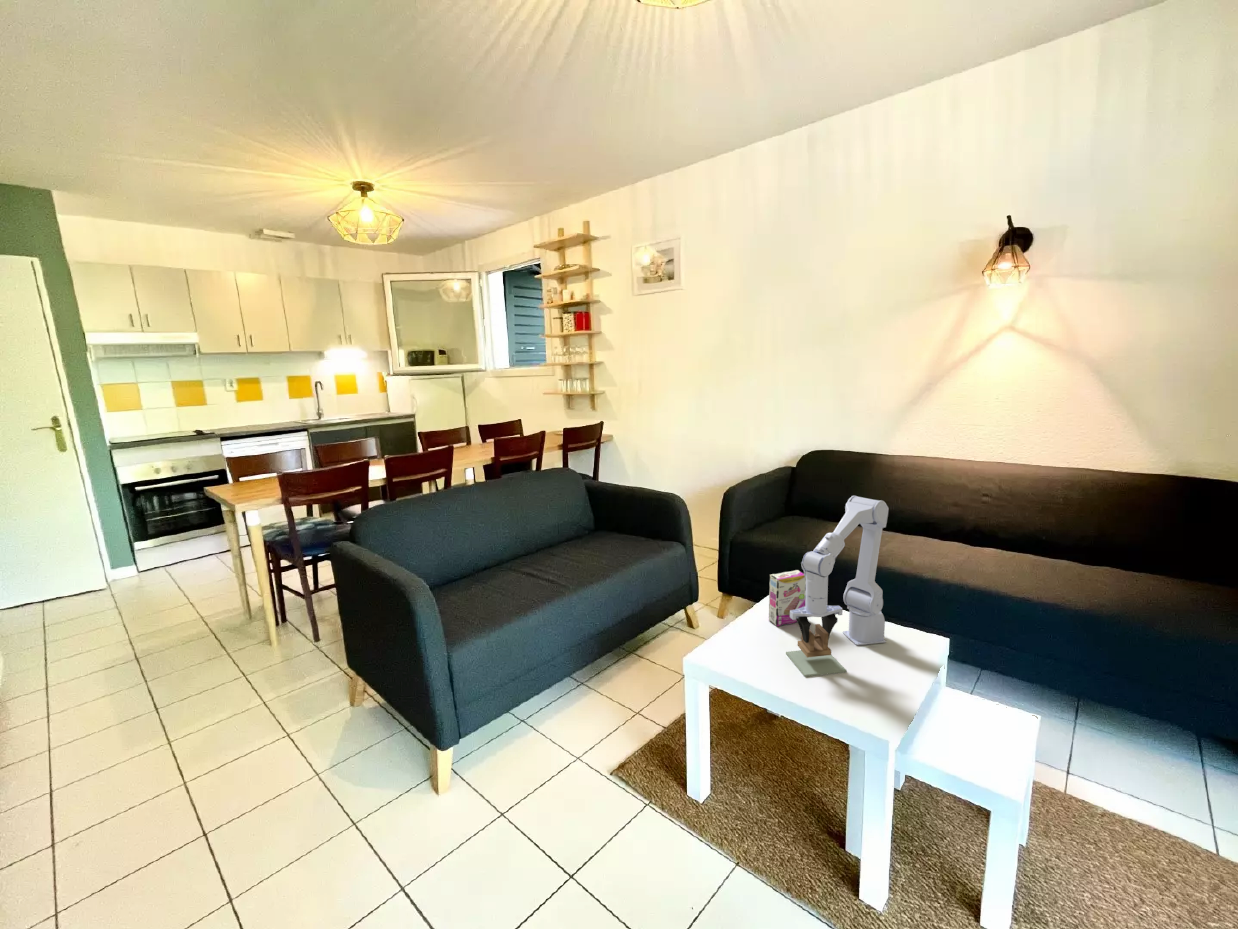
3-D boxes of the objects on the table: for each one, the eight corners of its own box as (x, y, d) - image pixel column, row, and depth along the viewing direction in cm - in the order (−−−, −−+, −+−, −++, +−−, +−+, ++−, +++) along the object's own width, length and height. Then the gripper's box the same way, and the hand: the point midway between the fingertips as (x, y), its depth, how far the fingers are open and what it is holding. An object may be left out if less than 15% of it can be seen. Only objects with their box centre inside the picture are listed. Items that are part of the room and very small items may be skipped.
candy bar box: (777, 627, 169) (777, 579, 167) (768, 621, 174) (768, 574, 171) (806, 621, 173) (807, 574, 170) (797, 614, 177) (797, 569, 174)
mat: (824, 649, 155) (824, 647, 155) (846, 672, 143) (846, 670, 143) (785, 653, 154) (785, 652, 154) (804, 677, 142) (804, 674, 142)
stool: (820, 643, 152) (821, 622, 150) (831, 655, 146) (832, 634, 145) (797, 645, 151) (798, 625, 150) (807, 657, 145) (808, 636, 144)
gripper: (833, 586, 150) (832, 630, 152) (785, 591, 148) (784, 635, 150) (847, 596, 143) (845, 642, 145) (796, 601, 141) (795, 648, 144)
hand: (815, 640), depth 147 cm, fingers closed on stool, 5 cm apart
